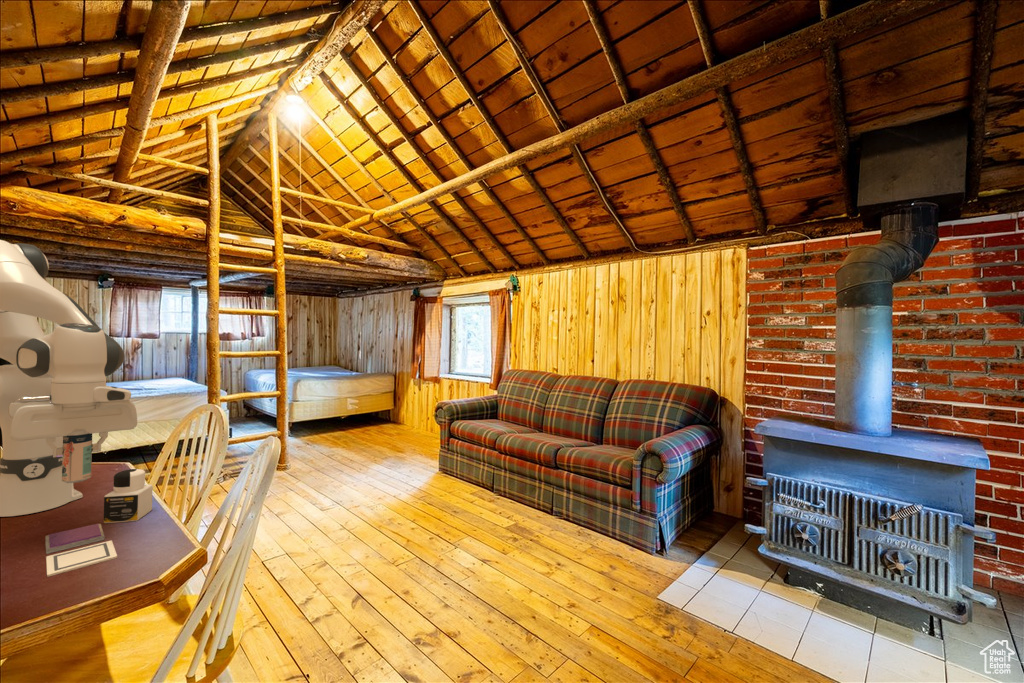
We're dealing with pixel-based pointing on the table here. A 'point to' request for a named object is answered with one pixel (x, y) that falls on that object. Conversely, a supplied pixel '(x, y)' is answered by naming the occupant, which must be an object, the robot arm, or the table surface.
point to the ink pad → (74, 538)
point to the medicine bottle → (128, 497)
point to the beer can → (77, 456)
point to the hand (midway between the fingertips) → (77, 453)
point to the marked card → (80, 558)
